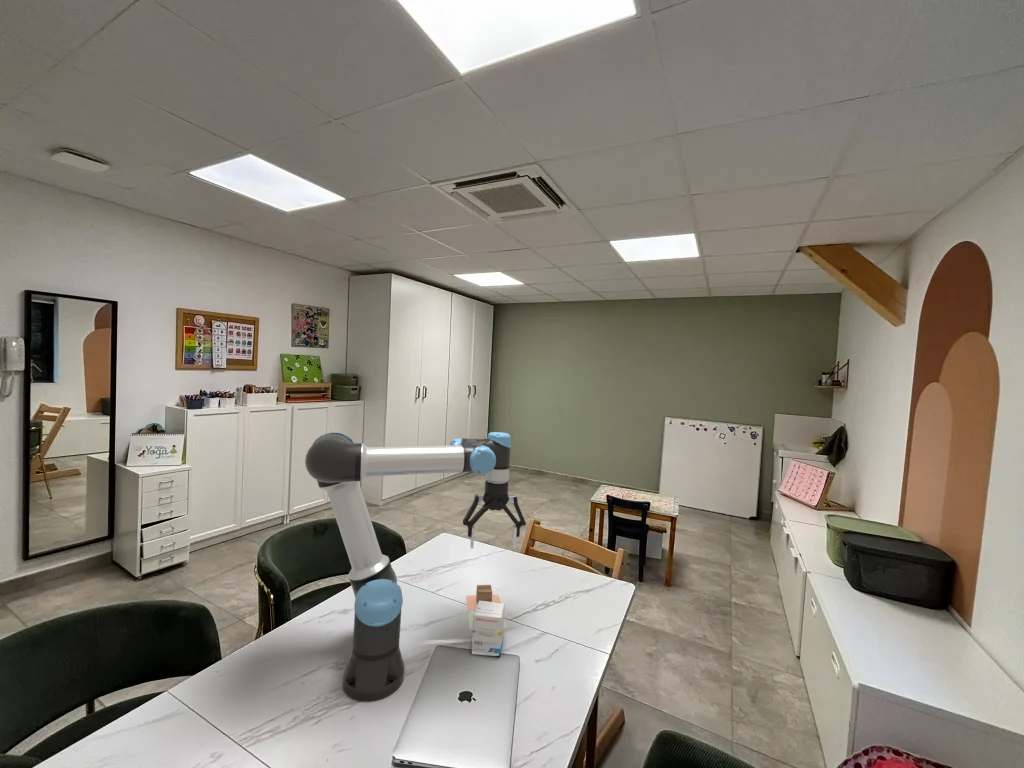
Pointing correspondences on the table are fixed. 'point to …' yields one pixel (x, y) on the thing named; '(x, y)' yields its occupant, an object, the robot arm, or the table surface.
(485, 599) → the walnut block
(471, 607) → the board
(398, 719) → the table surface
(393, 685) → the robot arm
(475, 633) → the ink box
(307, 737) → the table surface
